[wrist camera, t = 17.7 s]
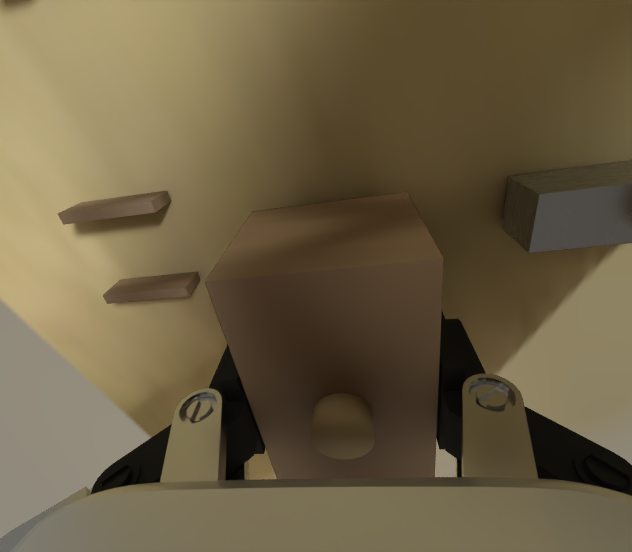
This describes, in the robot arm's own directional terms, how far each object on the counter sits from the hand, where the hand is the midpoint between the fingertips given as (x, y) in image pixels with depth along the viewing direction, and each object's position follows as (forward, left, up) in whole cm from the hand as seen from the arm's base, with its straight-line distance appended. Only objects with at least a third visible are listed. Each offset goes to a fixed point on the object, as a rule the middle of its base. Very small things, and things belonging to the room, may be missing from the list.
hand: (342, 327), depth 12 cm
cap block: (0, 0, -1) cm, 1 cm away
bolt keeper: (+8, -3, -2) cm, 8 cm away
